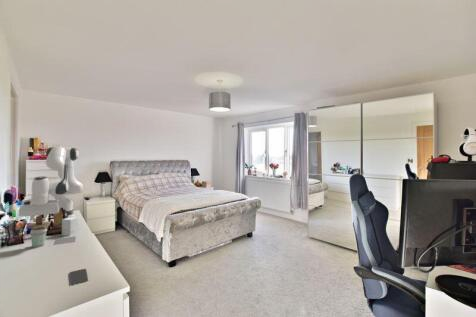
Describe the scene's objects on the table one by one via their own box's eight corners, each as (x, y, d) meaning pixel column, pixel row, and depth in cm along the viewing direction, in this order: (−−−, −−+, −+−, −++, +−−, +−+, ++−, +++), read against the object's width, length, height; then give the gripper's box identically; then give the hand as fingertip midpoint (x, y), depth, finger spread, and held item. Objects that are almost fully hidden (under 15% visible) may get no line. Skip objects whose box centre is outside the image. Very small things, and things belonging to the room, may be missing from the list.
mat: (55, 239, 163) (55, 239, 163) (75, 236, 169) (75, 236, 169) (53, 245, 151) (53, 245, 151) (75, 242, 158) (75, 241, 158)
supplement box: (77, 233, 178) (78, 217, 178) (70, 236, 170) (70, 219, 171) (69, 233, 179) (69, 217, 179) (61, 235, 171) (61, 219, 172)
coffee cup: (36, 249, 144) (37, 230, 144) (26, 248, 146) (26, 229, 146) (49, 244, 152) (50, 227, 153) (39, 243, 154) (40, 226, 154)
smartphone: (69, 285, 102) (68, 272, 114) (69, 287, 102) (68, 273, 114) (88, 280, 107) (86, 268, 118) (88, 282, 107) (86, 269, 118)
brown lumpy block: (48, 237, 167) (49, 210, 168) (40, 233, 175) (41, 208, 176) (71, 232, 180) (72, 207, 181) (63, 229, 188) (64, 205, 188)
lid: (29, 224, 151) (30, 215, 151) (50, 222, 157) (51, 214, 157) (26, 228, 142) (26, 219, 142) (48, 226, 148) (49, 217, 148)
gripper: (60, 199, 158) (59, 218, 158) (20, 201, 147) (19, 222, 146) (59, 200, 153) (58, 220, 153) (18, 202, 142) (17, 224, 141)
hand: (39, 221), depth 149 cm, fingers closed on lid, 3 cm apart
